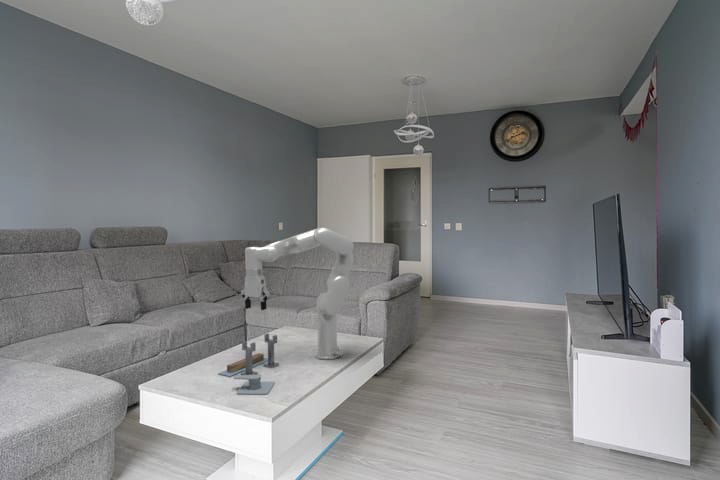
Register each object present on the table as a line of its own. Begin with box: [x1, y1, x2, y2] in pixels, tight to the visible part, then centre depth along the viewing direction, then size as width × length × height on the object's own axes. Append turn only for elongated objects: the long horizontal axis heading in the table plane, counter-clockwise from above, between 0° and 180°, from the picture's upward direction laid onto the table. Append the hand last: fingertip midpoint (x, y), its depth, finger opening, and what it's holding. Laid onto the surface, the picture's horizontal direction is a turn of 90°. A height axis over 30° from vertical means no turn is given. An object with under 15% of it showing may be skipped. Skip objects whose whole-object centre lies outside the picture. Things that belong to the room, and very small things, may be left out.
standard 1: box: [240, 340, 259, 375], centre depth 181 cm, size 6×5×14 cm
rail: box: [226, 352, 265, 373], centre depth 192 cm, size 3×20×3 cm, turn 150°
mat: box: [218, 357, 268, 378], centre depth 192 cm, size 7×26×1 cm, turn 150°
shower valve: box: [233, 374, 276, 396], centre depth 167 cm, size 12×6×15 cm
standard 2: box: [262, 333, 280, 369], centre depth 193 cm, size 6×5×14 cm
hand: (255, 308), depth 197 cm, fingers open, 9 cm apart
